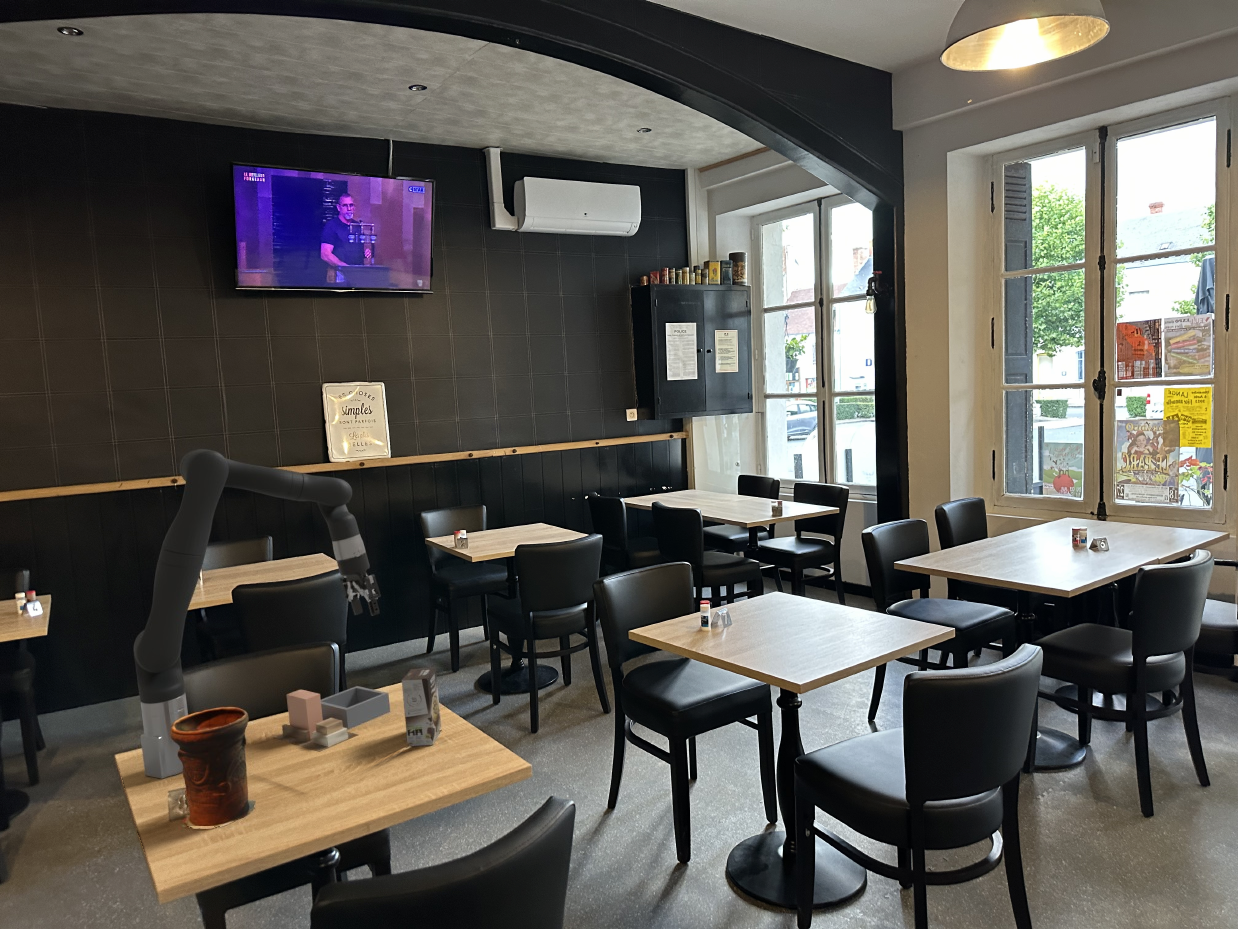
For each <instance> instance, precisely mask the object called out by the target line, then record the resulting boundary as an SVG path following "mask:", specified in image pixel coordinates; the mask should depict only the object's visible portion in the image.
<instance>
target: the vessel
mask: <svg viewBox="0 0 1238 929" xmlns="http://www.w3.org/2000/svg"><path fill="white" fill-rule="evenodd" d="M248 725H249V713H248V712H247V711H246V710H244V709H242V708H239V707H234V706H222V707H216V708H211V709H204V710H202V711H198V712H194V713H191V714H188V715H187V716H184V717H182V718H180V719H179V720H177V721H175V722H174V723H173V724H172V726H171V733H170V735H171V738H172V740H173V741H174V742H175V743H177V744H178V745H179V747H180V749H179V751H178V757H179V759H180V760H181V762H182V764H183V771H182V772H181V773H182V775H183V780H184V784H185V785H184V786H185V791H184V792H185V793H184V794H185V795H186V798H187V805H188V811H189V812H188V813H189V814H186V817H184V819H183V822H182V823H185V824H184V825H182V827H184V828H188V827H187V826H214V829H216V828H215V827H216V826H220V827H219V828H221V827H224V826H228V825H229V824H232V823H234V822H235V821H238V820H239V819H243V818H245V817H246V816H248V815H250V814H251V813H252V812H253V811H254V810H256V808H255V805H256V800H254V799H252V798H251V799H249V785H248V773H247V760H246V759H247V758H246V750H245V748H246V747H245V746H246V745H247V738H246V729H247V727H248Z"/></svg>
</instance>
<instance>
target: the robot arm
mask: <svg viewBox="0 0 1238 929" xmlns="http://www.w3.org/2000/svg"><path fill="white" fill-rule="evenodd" d="M179 472H180V476H181V478H182V479H183V481H184V483H185V484H184V491H183V496H182V500H181V504H180V507H179V510H178V512H177V514H176V516H175V517H174V520H173V521H172V523H171V525H170V526H169V528H168V530H167V532H166V535H165V538H164V539H163V542H162V545H161V549H160V553H159V556H158V560H157V564H156V569H155V576H154V583H153V596H152V604H151V609H150V613H149V616H148V618H147V622H146V625H145V628H144V629H143V630H142V631H141V632H140V633H139V634H138V635H137V636H136V638H135V641H134V643H133V656H134V664H135V672H136V680H137V687H138V694H139V700H140V709H141V716H142V717H141V718H142V725H143V726H142V727H143V733H142V734H141V735H140V743H141V750H142V752H141V754H142V759H143V767H144V769H143V770H144V775H145V776H148V777H152V778H158V779H164V778H168V777H172V776H174V775H178V774H181V773H183V772H182V771H183V764H182V762H181V760H180V759H179V757H178V751H179V749H180V747H179V745H178V744H177V743H175V742H174V741H173V740H172V738H171V735H170V733H171V726H172V724H173V723H174V722H175V721H177V720H179V719H180V718H182V717H184V716H187V715H189V713H188V703H187V696H186V685H185V679H184V674H183V669H182V668H183V667H182V659H181V652H182V646H183V645H182V644H183V638H184V637H183V636H184V630H185V624H186V618H187V614H188V610H189V607H190V606H191V605H190V604H191V602H192V600H193V596H194V594H195V591H196V588H197V584H198V582H199V578H200V575H201V572H202V569H203V565H204V562H205V561H204V560H205V557H206V553H207V548H208V544H209V541H210V540H209V539H210V535H211V531H212V525H213V519H214V515H215V511H216V508H217V505H218V504H219V500H220V497H221V495H222V492H223V491H224V488H234V489H241V490H245V491H246V490H247V491H251V492H255V493H259V494H263V495H267V496H271V497H275V498H281V499H286V500H289V501H290V500H291V501H297V502H315V503H317V506H318V508H319V510H320V513H321V514H322V517H323V518H324V521H325V522H326V524H327V527H328V531H329V535H330V538H331V541H332V548H333V553H334V557H335V560H336V565H337V568H338V571H339V574H340V576H341V577H339V581H340V585H341V589H342V592H343V597H344V599H345V600H348V601H349V602H350V603H351V608H352V612H353V614H354V616H357V615H360V614H363V613H364V612H363V611H364V610H363V606H362V604H361V600H360V595H361V597H364V598H365V599H366V601H367V605H368V609H369V612H370V616H376V615H379V614H380V608H379V604H378V598H380V597H381V596H382V595H381V591H380V588H379V585H378V582H377V579H376V575H375V574H373V573H372V574H370V575H368V573H367V570H369V569H370V565H371V564H370V562H369V559H368V554H367V552H366V548H365V545H364V541H363V539H362V537H361V534H360V531H359V530H360V529H359V527H358V524H357V520H356V518H355V516H354V515H353V514H352V513H351V512H349V509H348V507H347V505H346V504H347V503H349V502H350V501H351V498H352V496H353V488H352V487H351V485H350V484H349V483H348V482H347V481H346V480H345V479H342V478H337V477H332V476H331V477H330V476H322V475H321V476H320V475H312V474H307V473H304V472H299V471H294V470H289V469H283V468H276V467H270V466H262V465H255V464H249V463H245V462H240V461H237V460H232V459H229V458H227V457H225V456H224V455H222V453H220V452H218V451H215V450H212V449H205V448H204V449H203V448H198V449H195V450H192V451H190V452H188V453H186V454H185V455H184V456H183V457H182V459H181V461H180V463H179Z"/></svg>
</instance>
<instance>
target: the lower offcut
mask: <svg viewBox="0 0 1238 929" xmlns="http://www.w3.org/2000/svg"><path fill="white" fill-rule="evenodd" d="M348 732H349V730H348V729H347V728H344V727H343V729H341V730H339V731H337V732H334V733H332V734H329V735H325V734H321V733H318V732H316V731H314V732H312V736H313V743H316V744H320V745H323V746H327V747H330V746H332V745H334V744H337V743H339V742H341V741H344V740H346V739H348ZM346 741H347V740H346ZM344 742H345V741H344ZM339 744H340V743H339ZM337 745H338V744H337ZM332 747H333V746H332ZM330 748H331V747H330Z"/></svg>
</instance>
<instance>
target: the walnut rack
mask: <svg viewBox="0 0 1238 929" xmlns="http://www.w3.org/2000/svg"><path fill="white" fill-rule="evenodd" d="M323 721H324V720H323ZM281 727H282V728H281V729H282V733H281V734H278V735H276V736H274V737H273V739H276V740H280V741H283V742H286V743H289V744H293V745H296V746H299V747H302V748H306V749H310V750H313V751H316V752H319V753H320V752H323V751H326V750H327V749H330V748H332V747H334V746H337V745H339V744H341V743H344V742H346V741H349V740H350V739H351V740H352V739H353V738H355V737H357V736H359V733H358V734H357V733H354V732H350V731H348V739H346V740H344V741H341V742H339V743H337V744H334V745H332V746H330V747H327V746H323V745H320V744H316V743H313V738H312V739H310V731H308V730H305V729H301V728H298V727H294V726H291V725H290V724H287V723H284V724H282V725H281Z"/></svg>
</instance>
